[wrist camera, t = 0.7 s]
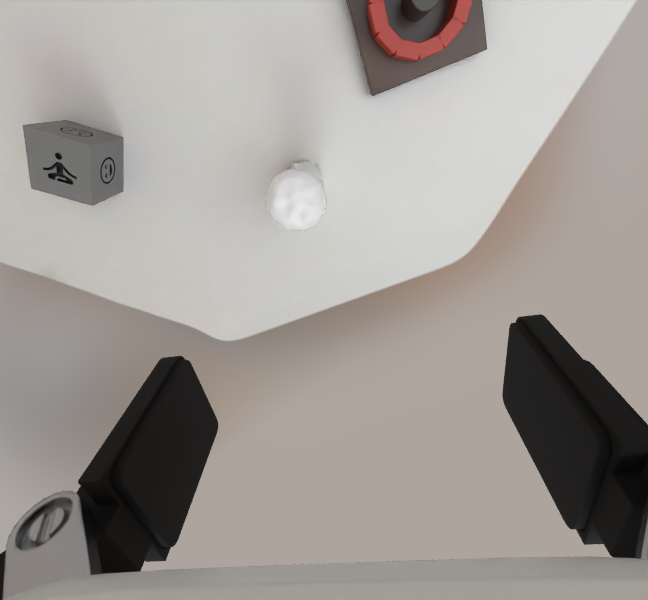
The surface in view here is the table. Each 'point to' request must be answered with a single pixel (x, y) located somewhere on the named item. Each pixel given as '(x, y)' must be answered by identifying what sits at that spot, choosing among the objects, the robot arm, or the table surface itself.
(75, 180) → the dice cube
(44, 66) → the table surface
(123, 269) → the table surface
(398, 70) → the ring holder
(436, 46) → the ring
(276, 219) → the milkshake
